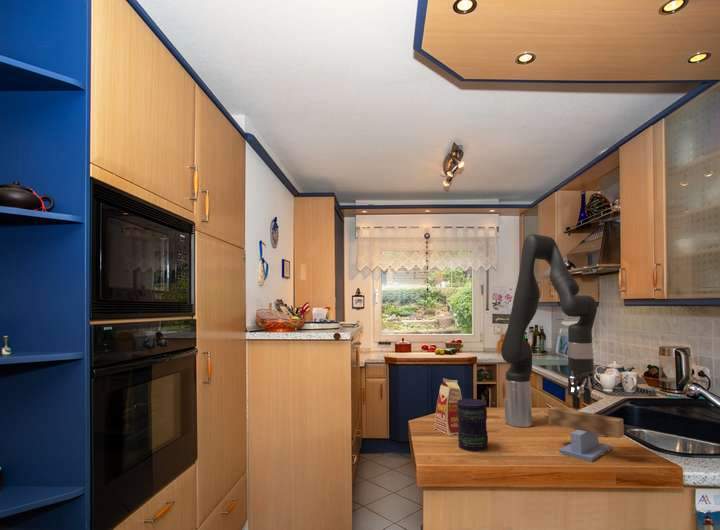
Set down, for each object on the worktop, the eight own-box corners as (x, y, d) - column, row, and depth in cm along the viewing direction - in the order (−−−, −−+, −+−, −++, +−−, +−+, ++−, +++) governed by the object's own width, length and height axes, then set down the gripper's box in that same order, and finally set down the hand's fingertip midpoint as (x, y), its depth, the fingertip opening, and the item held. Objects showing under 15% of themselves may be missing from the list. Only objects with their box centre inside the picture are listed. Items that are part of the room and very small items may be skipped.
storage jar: (487, 453, 145) (485, 406, 146) (456, 450, 148) (454, 404, 149) (489, 443, 154) (487, 399, 155) (460, 440, 157) (459, 397, 158)
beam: (548, 423, 152) (548, 408, 153) (554, 421, 155) (553, 406, 155) (619, 438, 136) (618, 421, 136) (624, 435, 139) (623, 418, 139)
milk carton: (448, 436, 163) (447, 380, 164) (433, 429, 171) (432, 376, 172) (468, 432, 167) (466, 378, 168) (452, 426, 175) (450, 374, 176)
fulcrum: (559, 453, 143) (558, 431, 144) (579, 441, 154) (578, 421, 154) (592, 461, 136) (590, 438, 136) (611, 449, 147) (610, 427, 147)
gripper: (578, 352, 154) (579, 400, 153) (559, 357, 145) (560, 407, 144) (601, 355, 149) (602, 404, 148) (583, 359, 139) (584, 412, 138)
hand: (582, 406), depth 146 cm, fingers open, 8 cm apart
